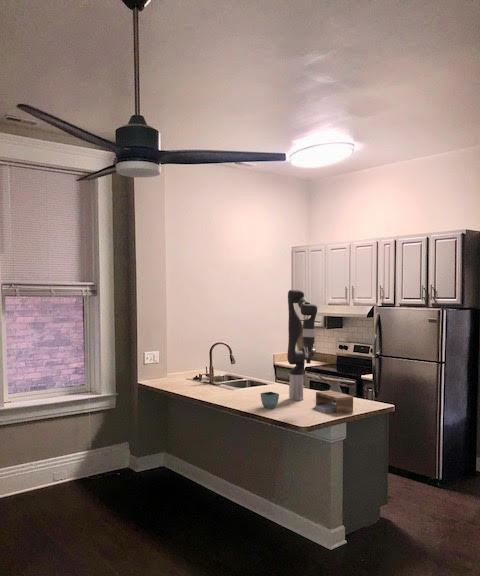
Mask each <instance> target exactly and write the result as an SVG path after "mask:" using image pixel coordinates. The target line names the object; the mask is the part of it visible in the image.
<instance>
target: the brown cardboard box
mask: <svg viewBox="0 0 480 576" xmlns="http://www.w3.org/2000/svg"><path fill="white" fill-rule="evenodd" d="M332 399H334V400H336V402H335V403H336V412H335V413H336V414H337V415H340V414H346V413H353V412H354V395H350V394H346V393H344V392H342V393H339V392H335V391H331V390H329V389H328V390H321V391H315V406H317V405H325V404H333V402H332Z"/></svg>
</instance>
